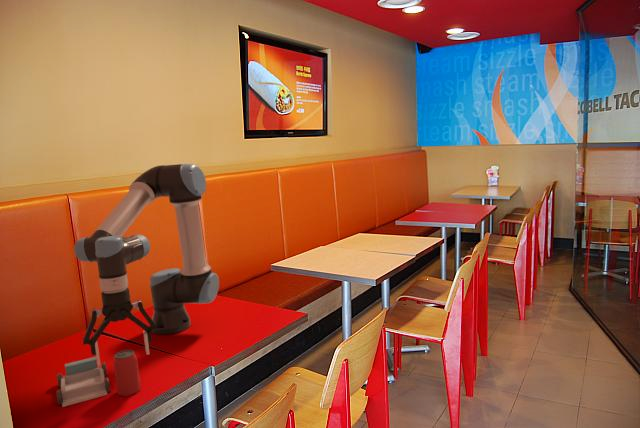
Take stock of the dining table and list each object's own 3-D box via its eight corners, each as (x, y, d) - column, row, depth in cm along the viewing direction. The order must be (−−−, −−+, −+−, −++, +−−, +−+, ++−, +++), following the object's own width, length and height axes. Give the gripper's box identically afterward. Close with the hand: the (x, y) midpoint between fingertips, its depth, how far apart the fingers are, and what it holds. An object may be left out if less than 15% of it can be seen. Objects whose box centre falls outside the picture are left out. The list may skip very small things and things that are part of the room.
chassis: (58, 383, 157) (56, 366, 156) (106, 371, 164) (104, 354, 163) (58, 408, 142) (55, 389, 141) (110, 393, 149) (108, 375, 148)
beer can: (121, 386, 152) (116, 350, 150) (143, 384, 153) (138, 348, 151) (114, 398, 146) (109, 359, 144) (137, 395, 146) (132, 357, 144)
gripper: (67, 301, 135) (77, 374, 138) (161, 284, 146) (169, 352, 150) (67, 294, 142) (77, 364, 145) (157, 279, 153) (164, 344, 156)
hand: (123, 358), depth 147 cm, fingers open, 13 cm apart
